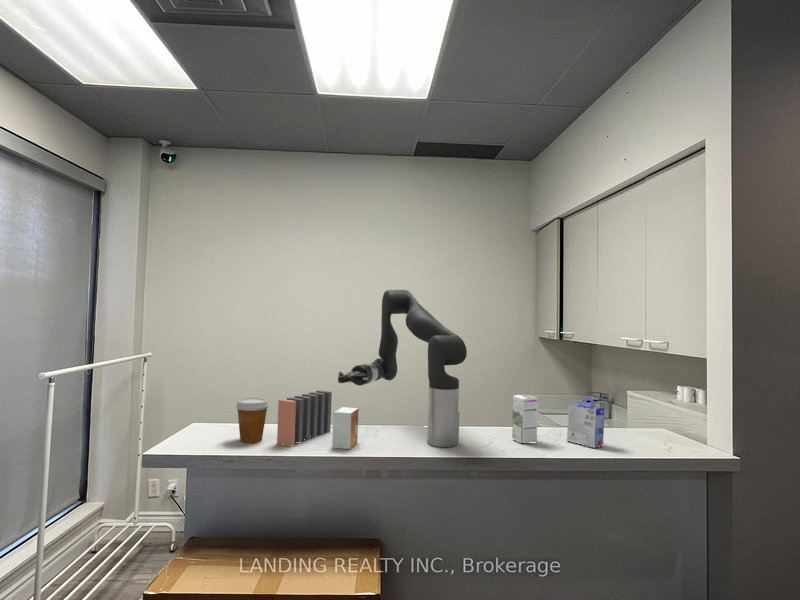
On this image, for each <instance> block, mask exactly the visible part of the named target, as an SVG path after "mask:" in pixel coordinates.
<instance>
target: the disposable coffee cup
mask: <svg viewBox="0 0 800 600" xmlns="http://www.w3.org/2000/svg"><path fill="white" fill-rule="evenodd" d="M269 406H270V404H269V401H268V399H266V398H261V397H245V398H241V399H238V400H237V402H236V404H235V407H236V409H237V417H238V419H237V421H238V430H239V439H240V440H239V441H240V442H241V443H244V444H255V442H256V443H260V442H262V441H263V436H264V429H265V423H266V418H267V411H268V407H269ZM261 440H262V441H261ZM259 441H260V442H259Z"/></svg>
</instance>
